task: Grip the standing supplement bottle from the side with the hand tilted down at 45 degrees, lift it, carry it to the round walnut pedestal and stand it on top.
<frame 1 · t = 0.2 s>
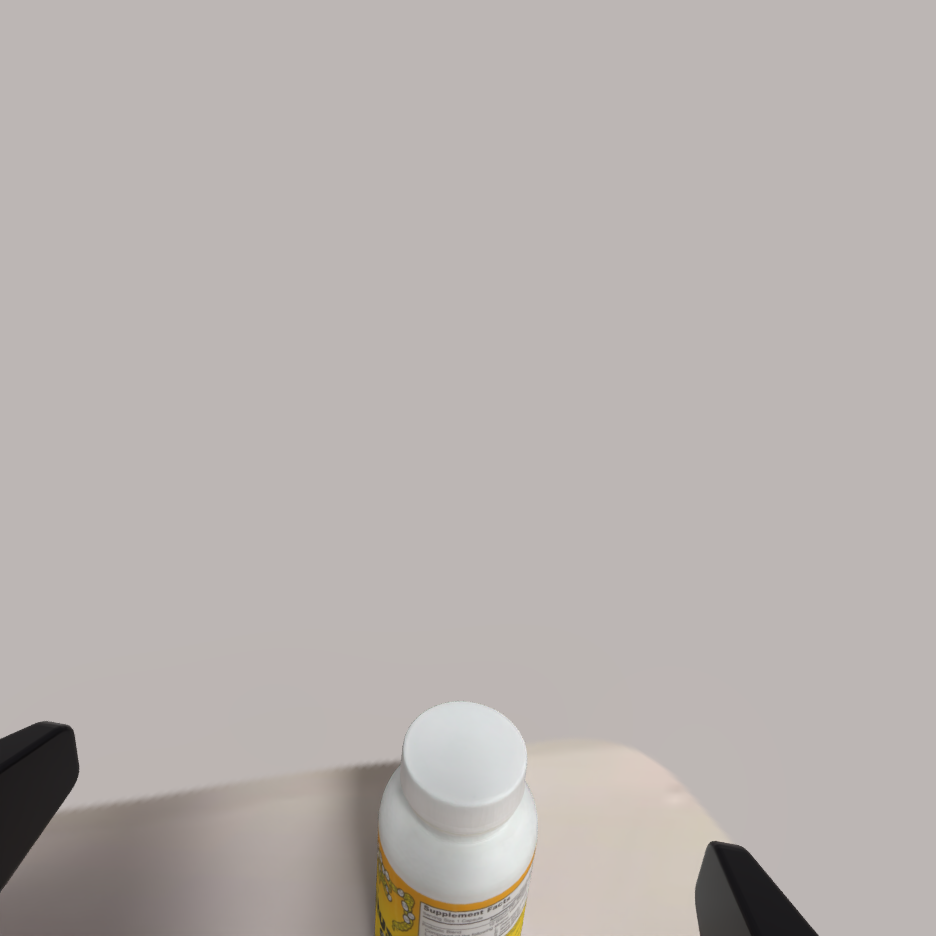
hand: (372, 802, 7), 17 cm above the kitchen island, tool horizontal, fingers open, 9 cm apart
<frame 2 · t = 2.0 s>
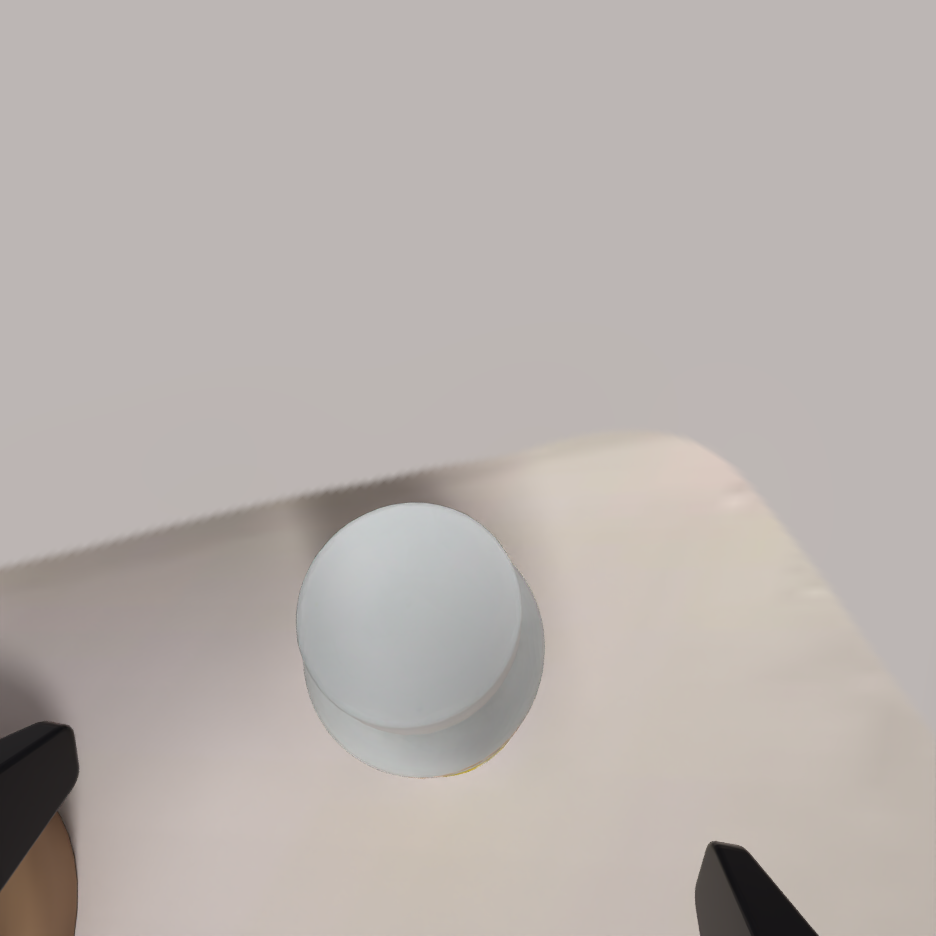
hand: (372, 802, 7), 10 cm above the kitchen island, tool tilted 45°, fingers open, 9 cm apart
supplement bottle: (443, 682, 18), on the kitchen island
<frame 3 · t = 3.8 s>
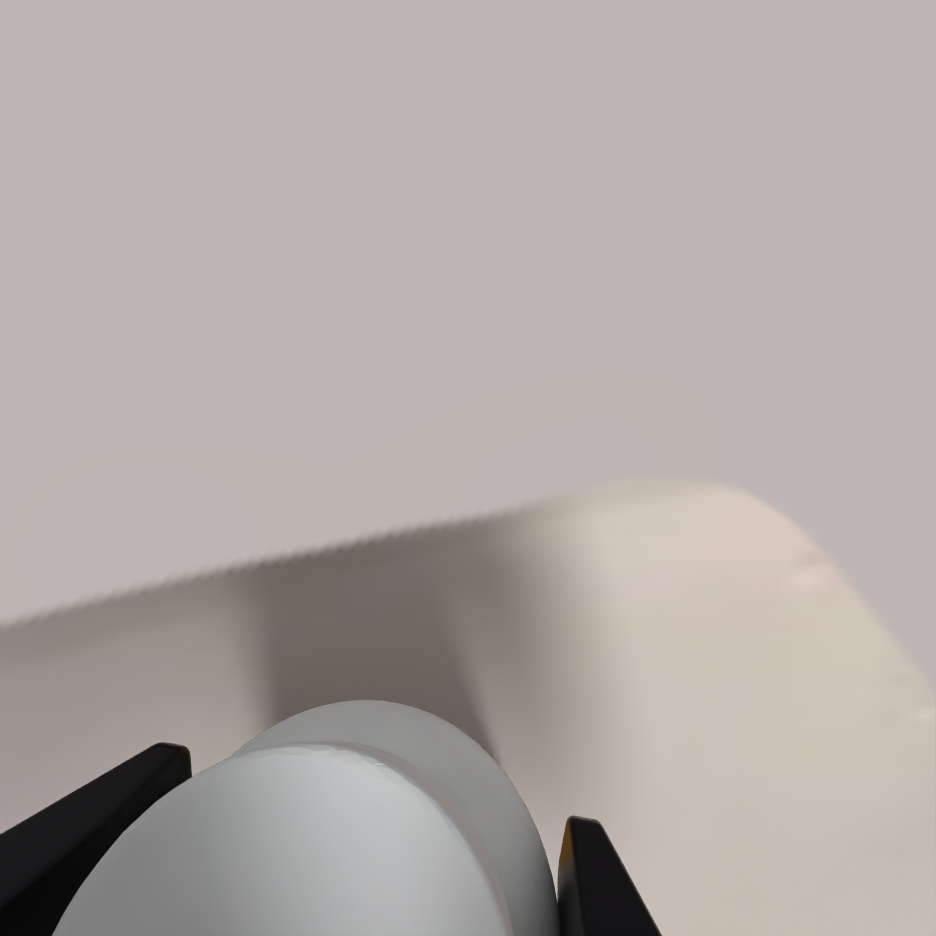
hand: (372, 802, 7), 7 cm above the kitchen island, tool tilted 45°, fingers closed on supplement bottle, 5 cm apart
supplement bottle: (411, 851, 13), on the kitchen island, touching gripper
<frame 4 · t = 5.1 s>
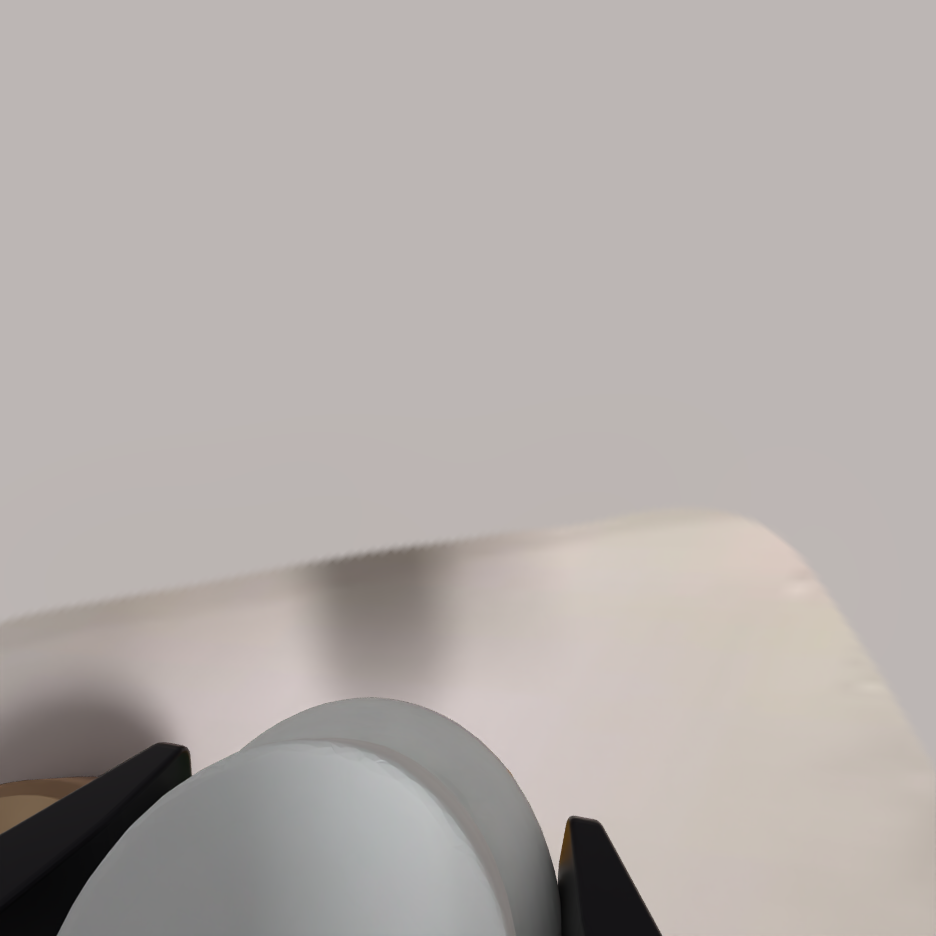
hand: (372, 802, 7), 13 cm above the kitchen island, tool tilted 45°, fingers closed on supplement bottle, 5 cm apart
supplement bottle: (417, 848, 13), point 6 cm above the kitchen island, touching gripper
when the fingers open (11 cm above the kitchen island, at t = 6.8 s): supplement bottle stays where it is, resting on pedestal.
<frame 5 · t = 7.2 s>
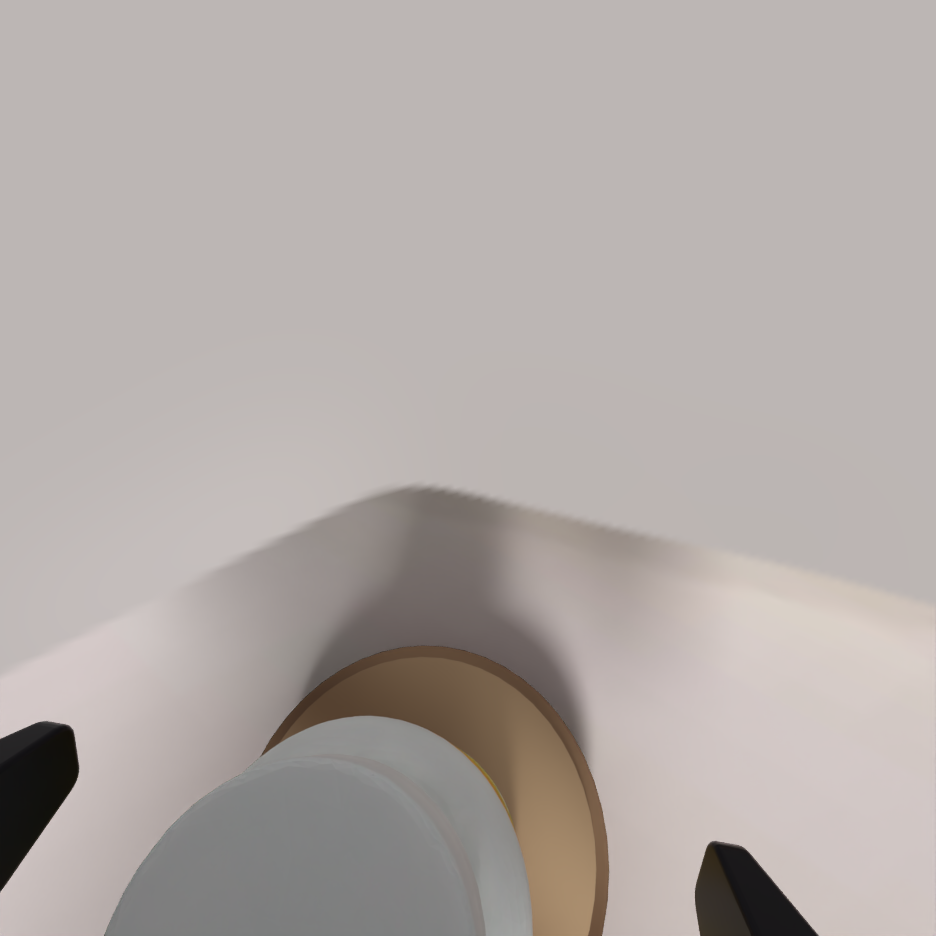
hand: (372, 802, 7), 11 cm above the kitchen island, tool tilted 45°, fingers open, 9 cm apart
pedestal: (426, 829, 16), on the kitchen island
supplement bottle: (413, 850, 14), point 3 cm above the kitchen island, touching pedestal
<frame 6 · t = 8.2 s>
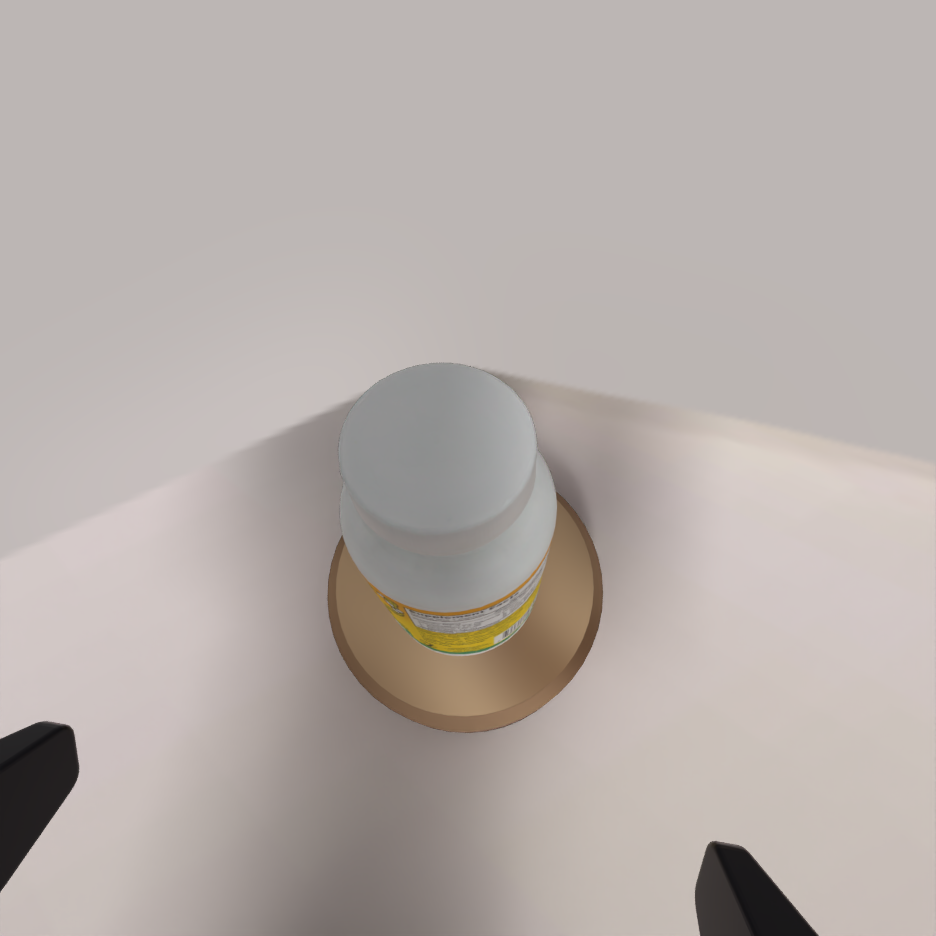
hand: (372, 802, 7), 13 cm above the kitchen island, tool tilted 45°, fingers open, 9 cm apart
pedestal: (466, 596, 22), on the kitchen island
supplement bottle: (462, 580, 19), point 3 cm above the kitchen island, touching pedestal
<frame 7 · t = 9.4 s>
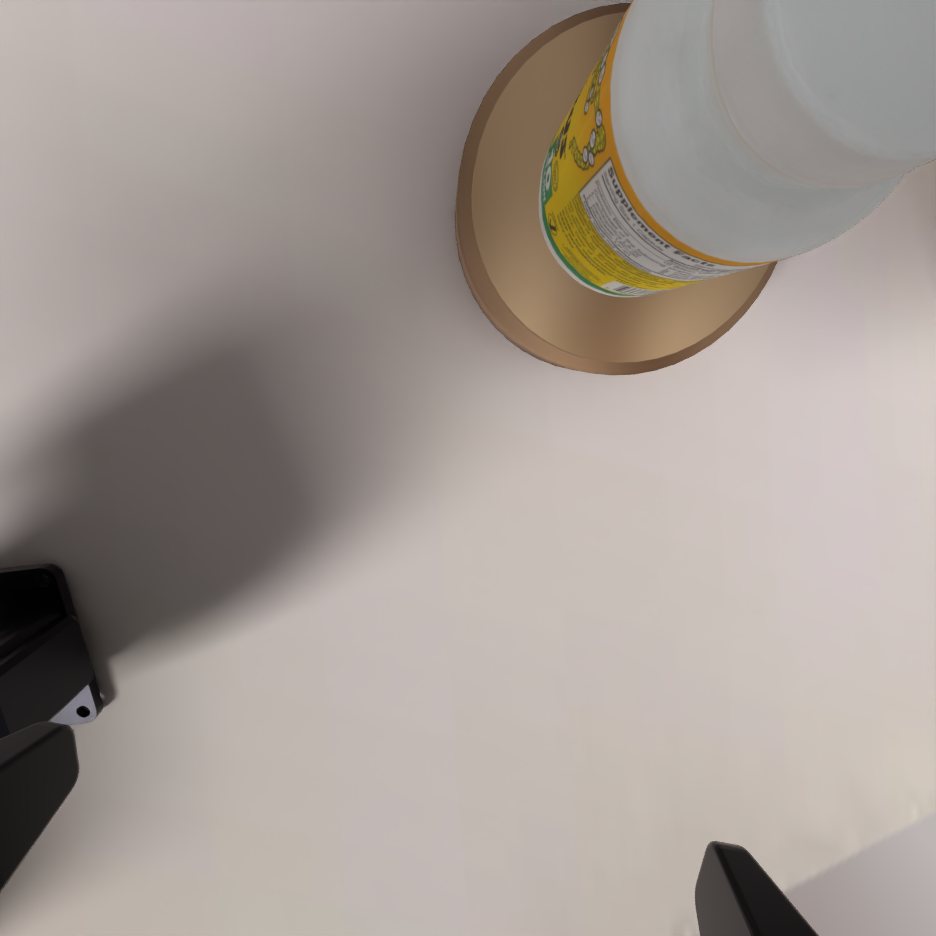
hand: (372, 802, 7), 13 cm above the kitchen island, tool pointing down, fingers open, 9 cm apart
pedestal: (601, 222, 18), on the kitchen island
supplement bottle: (624, 202, 15), point 3 cm above the kitchen island, touching pedestal
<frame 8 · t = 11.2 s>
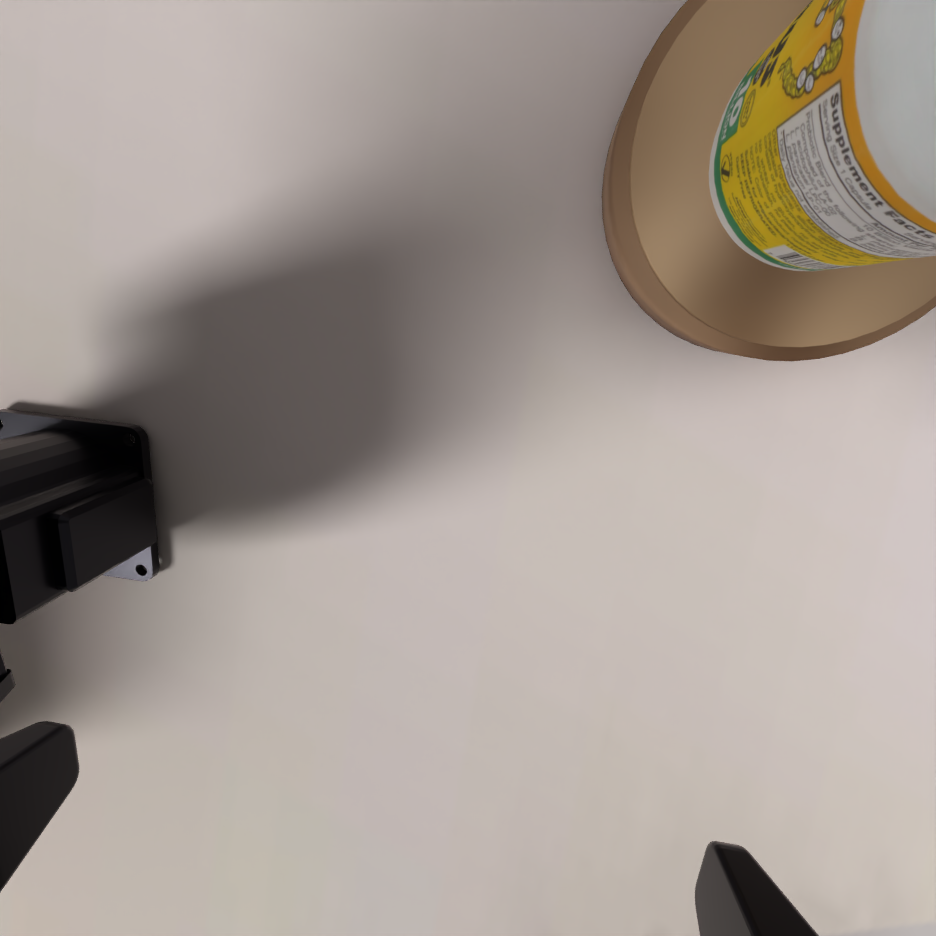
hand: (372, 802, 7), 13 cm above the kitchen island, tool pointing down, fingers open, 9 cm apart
pedestal: (773, 183, 16), on the kitchen island
supplement bottle: (814, 157, 13), point 3 cm above the kitchen island, touching pedestal
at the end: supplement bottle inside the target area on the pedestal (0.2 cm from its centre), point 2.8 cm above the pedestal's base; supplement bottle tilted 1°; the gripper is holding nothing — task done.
